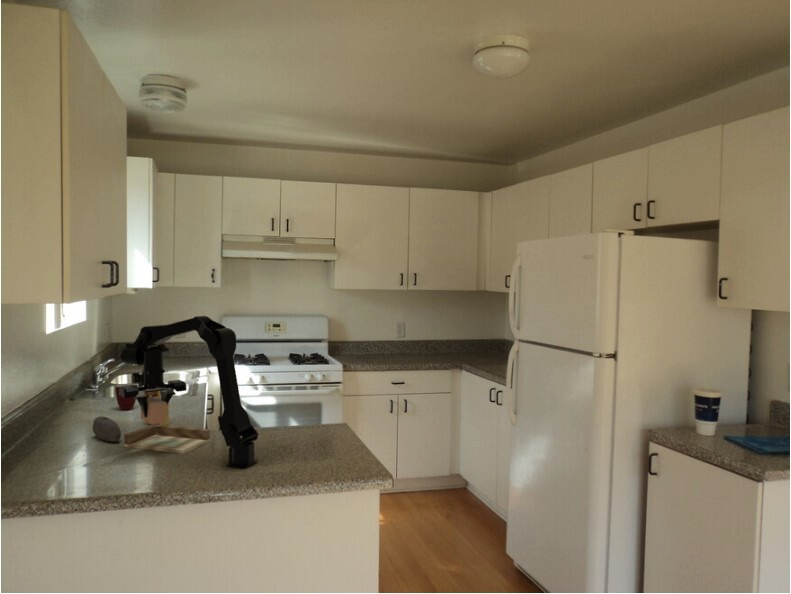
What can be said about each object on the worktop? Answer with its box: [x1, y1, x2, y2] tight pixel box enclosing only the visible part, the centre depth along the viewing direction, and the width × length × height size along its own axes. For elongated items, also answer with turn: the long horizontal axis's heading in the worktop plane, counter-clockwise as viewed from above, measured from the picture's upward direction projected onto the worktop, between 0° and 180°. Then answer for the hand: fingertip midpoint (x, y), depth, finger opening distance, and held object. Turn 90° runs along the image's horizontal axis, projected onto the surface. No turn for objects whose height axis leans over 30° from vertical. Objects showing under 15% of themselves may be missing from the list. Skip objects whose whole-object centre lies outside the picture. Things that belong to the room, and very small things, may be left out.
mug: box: [114, 382, 138, 412], centre depth 243 cm, size 11×8×10 cm
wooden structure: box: [123, 424, 211, 454], centre depth 194 cm, size 22×14×4 cm, turn 72°
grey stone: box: [92, 416, 122, 443], centre depth 198 cm, size 15×5×7 cm, turn 48°
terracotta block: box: [140, 397, 167, 425], centre depth 185 cm, size 4×10×6 cm, turn 40°
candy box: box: [144, 391, 170, 426], centre depth 219 cm, size 9×4×15 cm, turn 60°
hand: (153, 416), depth 185 cm, fingers closed on terracotta block, 4 cm apart
